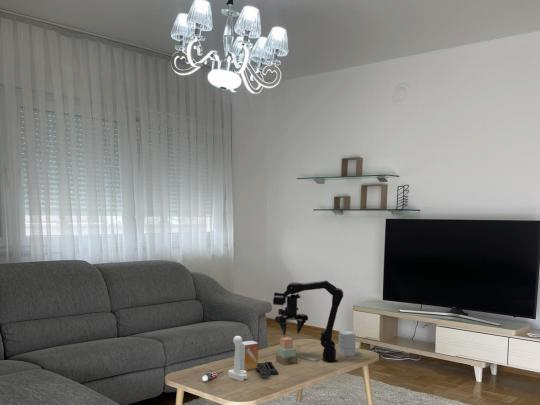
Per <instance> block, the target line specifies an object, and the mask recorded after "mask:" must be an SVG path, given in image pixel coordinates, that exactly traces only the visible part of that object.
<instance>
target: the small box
mask: <svg viewBox="0 0 540 405" xmlns="http://www.w3.org/2000/svg"><path fill="white" fill-rule="evenodd" d="M258 358H259V343H258V342H256V341H254V340H246V341H242V343H241V345H240V370H245V371H251V370H256V369H255V368H256V366H257V365H258V363H259V361H258V360H259V359H258ZM258 366H259V365H258Z"/></svg>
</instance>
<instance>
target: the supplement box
mask: <svg viewBox="0 0 540 405" xmlns="http://www.w3.org/2000/svg"><path fill="white" fill-rule="evenodd" d="M338 354H339V355H340V354H341V355H340V356H342V357H343V356H344V357H343V358H346V356H347V357H355V356H356V333H355V332H353V331H351V330H345V331H343V330H342V331H341V330H340V331H338Z"/></svg>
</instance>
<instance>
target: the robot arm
mask: <svg viewBox="0 0 540 405" xmlns="http://www.w3.org/2000/svg"><path fill="white" fill-rule="evenodd" d="M321 289H324V290H326V291H327V292H328V293H329V294H330V295H331V296H332V298H331V300H332V301H331V308H330V311H329V316H328V319H327V323H326V327H325V330H321V334H320V337H319V340H320V345H321V346H322V347H323V351H322V358H321V361H324V362H325V363H329V364H330V363H335V362H338V360H337V349H336V342H334V340H333V330H334V325H335V321H336V317H337V314H338V309H339V307H340V304H341V302H342V300H343V298H344V291H343V289H342V288H339V287H336V286H335V285H334V284H332V283H331V282H329V281H328V280H327V279H326V280H321V281H312V282H305V283H303V282H293V281H292V282H290V283H289V284H288V285H287V287H286V290H285V291H284V292H277V291H276V292H273V299H272V304H273V305H274V306H285V304H286V306H285V308H284V309H283V308H278V310H277V313H278V315H277V316H275V318H274V322H276V323H277V324H279V326H280V328H281V331H282V334H283V336H285V335H286V333H287V325H288V323H287V321H288V322H289V321H295V320H296V323H297V326H296V327H297V329H296V331H297V334H300V332H301V330H302V329H303V326H304V325H305V324H306V323H307V322H308V321H309V316H308V315H307V314H305V313H299V314H298V311H299V307H298V299H301V297H302V296H301V295H300V294H299V293H301V292H304V291H312V290H321Z"/></svg>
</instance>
